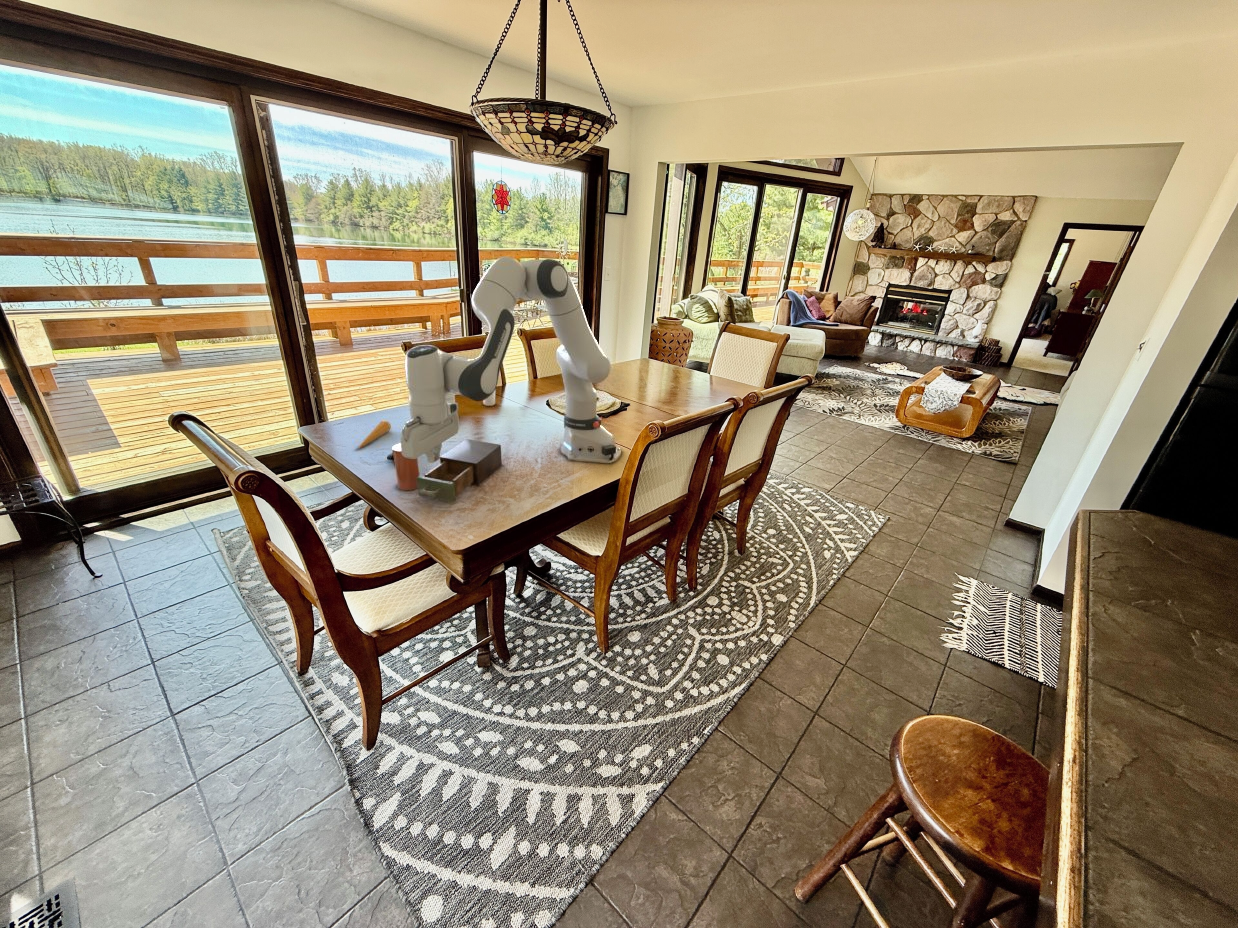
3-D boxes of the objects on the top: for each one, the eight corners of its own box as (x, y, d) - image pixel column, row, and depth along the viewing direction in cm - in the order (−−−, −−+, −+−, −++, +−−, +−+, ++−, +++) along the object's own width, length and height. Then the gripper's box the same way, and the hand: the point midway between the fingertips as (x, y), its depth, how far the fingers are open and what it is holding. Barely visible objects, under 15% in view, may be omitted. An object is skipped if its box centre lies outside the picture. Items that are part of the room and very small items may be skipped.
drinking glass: (485, 401, 223) (483, 369, 217) (499, 402, 222) (497, 371, 216) (479, 405, 217) (477, 373, 210) (493, 407, 216) (492, 374, 210)
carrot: (385, 430, 186) (379, 420, 184) (395, 428, 185) (388, 417, 183) (355, 456, 169) (348, 445, 167) (365, 453, 168) (358, 442, 166)
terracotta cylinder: (425, 482, 150) (420, 444, 145) (412, 491, 144) (406, 452, 139) (407, 479, 151) (401, 441, 146) (393, 488, 146) (387, 449, 140)
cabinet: (478, 485, 150) (476, 463, 147) (442, 479, 153) (439, 456, 150) (501, 465, 164) (500, 444, 161) (468, 459, 167) (466, 438, 163)
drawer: (445, 509, 135) (443, 490, 133) (409, 501, 137) (406, 483, 135) (479, 480, 152) (478, 463, 149) (446, 474, 154) (444, 457, 151)
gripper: (413, 426, 112) (420, 479, 118) (461, 402, 130) (465, 448, 136) (390, 422, 113) (397, 475, 119) (440, 398, 131) (445, 445, 137)
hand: (434, 460), depth 128 cm, fingers closed
